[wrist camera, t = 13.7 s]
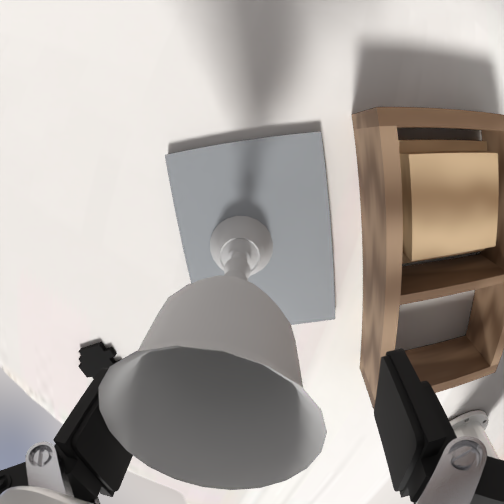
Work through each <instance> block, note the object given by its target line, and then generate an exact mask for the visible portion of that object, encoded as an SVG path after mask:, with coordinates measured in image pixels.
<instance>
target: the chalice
mask: <svg viewBox="0 0 504 504" xmlns="http://www.w3.org/2000/svg"><path fill="white" fill-rule="evenodd" d="M210 252H211V254H212V257H213V260H214V261H215V262H216V264H217V265H218V266H219V267H220V268H221V269H222V270H223V271H224V273H225V274H224V276H221V275H218V276H214V277H209V278H205V279H201V280H199V281H196V282H194V283H191V284H189V285H186V286H185V287H183V288H182V289H180V290H179V291H177V292H176V293H174V294H173V295H171V296H170V297H169V298H168V299H167V301H166V302H165V304H164V305H163V307H162V308H161V310H160V311H159V313H158V315H157V317H156V318H155V320H154V322H153V324H152V326H151V327H150V329H149V331H148V333H147V335H146V337H145V338H144V340H143V342H142V344H141V346H140V348H139V350H138V351H136V352H134V353H132V354H130V355H129V356H127V357H125V358H124V359H122V360H120V361H118V362H117V363H115V364H113V365H112V366H110V367H109V369H108V371H107V372H106V374H105V376H104V378H103V380H102V382H101V383H100V385H99V387H98V388H99V410H100V412H101V414H102V416H103V418H104V420H105V422H106V425H107V427H108V429H109V431H110V432H111V433H112V434H113V436H114V437H115V438H116V439H117V440H118V441H119V442H120V443H121V445H122V446H123V447H124V448H125V449H126V450H127V451H128V452H130V453H131V454H132V455H134V456H135V457H136V458H138V459H139V460H140V461H142V462H143V463H145V464H146V465H147V466H149V467H151V468H153V469H155V470H157V471H159V472H161V473H163V474H165V475H167V476H169V477H172V478H174V479H177V480H180V481H183V482H187V483H190V484H194V485H198V486H202V487H209V488H218V489H228V490H237V489H251V488H261V487H264V486H268V485H272V484H275V483H279V482H282V481H285V480H287V479H289V478H291V477H293V476H294V475H296V474H298V473H300V472H301V471H303V470H305V469H306V468H307V467H308V466H309V465H310V464H311V463H312V462H313V461H314V460H315V458H316V457H317V456H318V455H319V454H320V453H321V451H322V448H323V444H324V441H325V437H326V433H327V431H326V427H325V423H324V419H323V415H322V411H321V409H320V408H319V407H318V405H317V404H316V403H315V402H314V401H313V399H312V398H311V397H310V396H309V395H308V393H307V392H306V391H305V390H304V389H303V385H302V378H301V372H300V366H299V360H298V354H297V347H296V342H295V338H294V335H293V331H292V328H291V324H290V322H289V321H288V319H287V318H286V317H285V315H284V314H283V312H282V311H281V310H280V308H279V307H278V305H277V304H276V303H275V302H274V301H273V300H272V299H271V298H270V297H269V296H268V295H267V294H266V293H265V292H263V291H262V290H261V289H260V288H258V287H257V286H256V285H254V284H253V283H251V282H248V278H249V276H251V275H253V274H256V273H257V272H259V271H260V270H262V269H263V268H264V267H265V266H266V265H267V264H268V262H269V261H270V258H271V256H272V253H273V241H272V238H271V234H270V233H269V231H268V230H267V228H266V227H265V226H264V225H263V224H262V223H260V222H259V221H258V220H256V219H254V218H251V217H248V216H234V217H231V218H227V219H226V220H224V221H223V222H221V223H220V224H219V225H218V226H217V227H216V228H215V230H214V231H213V233H212V236H211V239H210Z"/></svg>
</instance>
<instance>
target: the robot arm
mask: <svg viewBox="0 0 504 504" xmlns="http://www.w3.org/2000/svg"><path fill="white" fill-rule="evenodd" d="M108 369H109V368H102V369H101V370H100V371H99V372H98V374H97V375H96V377H95V378H94V380H93V381H92V383H91V384H90V385H89V387H88V388H87V390H86V391H85V393H84V394H83V396H82V397H81V399H80V400H79V402H78V403H77V405H76V406H75V408H74V409H73V411H72V412H71V414H70V415H69V417H68V418H67V420H66V421H65V423H64V424H63V426H62V427H61V429H60V430H59V432H58V434H57V435H56V437H55V438H54V442H55V443H56V444H55V446H53V445H52V444H50V443H48V442H39V443H37V444H35V445H33V446H32V447H31V448H30V449H29V450H28V452H27V454H26V462H24V463H21V464H18V465H16V466H13V467H10V468H7V469H4V470H1V471H0V504H100V502H99V499H98V494H99V492H100V493H101V494H103V495H107V496H110V497H113V495H114V492H115V491H117V490H118V489H119V487H120V485H121V483H122V480H123V478H124V475H125V473H126V470H127V468H128V466H129V463H130V461H131V458H132V456H133V455H132V454H131V453H130V452H128V451H127V450H126V449H125V448H124V447H123V446H122V445H121V443H120V442H119V441H118V440H117V439H116V438H115V437H114V436H113V434H112V433H111V432H110V431H109V429H108V427H107V425H106V422H105V420H104V418H103V416H102V414H101V412H100V410H99V388H98V387H99V385H100V383H101V382H102V380H103V378H104V376H105V374H106V372H107V371H108ZM374 416H375V420H376V424H377V427H378V431H379V434H380V438H381V441H382V445H383V448H384V452H385V456H386V460H387V463H388V467H389V471H390V475H391V479H392V483H393V487H394V490H395V491H400V494H401V497H405V496H410V500H411V502H414V504H504V461H503V460H500V459H499V458H498V456H497V454H496V452H495V450H494V448H493V446H492V444H491V442H490V440H489V438H488V436H487V435H486V433H485V431H484V430H485V429H486V427H487V425H488V417H487V415H486V413H485V412H484V411H481V410H476V411H471V412H468V413H465V414H462V415H460V416H458V417H456V418H454V419H453V420H451V421H449V420H448V418H447V416H446V414H445V412H444V410H443V408H442V406H441V404H440V402H439V400H438V398H437V396H436V394H435V392H434V390H433V388H432V387H431V385H430V383H429V382H428V381H422V382H421V381H420V379H419V377H418V376H417V374H416V372H415V370H414V368H413V366H412V364H411V362H410V360H409V358H408V357H407V355H406V353H405V351H404V350H403V349H398V350H392V351H387V352H386V355H385V356H383V357H381V361H380V370H379V378H378V385H377V393H376V399H375V406H374Z"/></svg>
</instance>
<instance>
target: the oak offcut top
mask: <svg viewBox="0 0 504 504" xmlns="http://www.w3.org/2000/svg"><path fill="white" fill-rule="evenodd" d="M400 166H401V182H402V208H403V252H402V253H403V254H405V255H406V256H407V257H408V258H409V259H410V260H411V261H416V260H422V259H428V258H434V257H440V256H445V255H451V254H457V253H462V252H468V251H473V250H478V249H484V248H489V247H494V246H496V236H497V222H498V197H499V175H498V153H494V152H487V151H434V152H408V153H400Z"/></svg>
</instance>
